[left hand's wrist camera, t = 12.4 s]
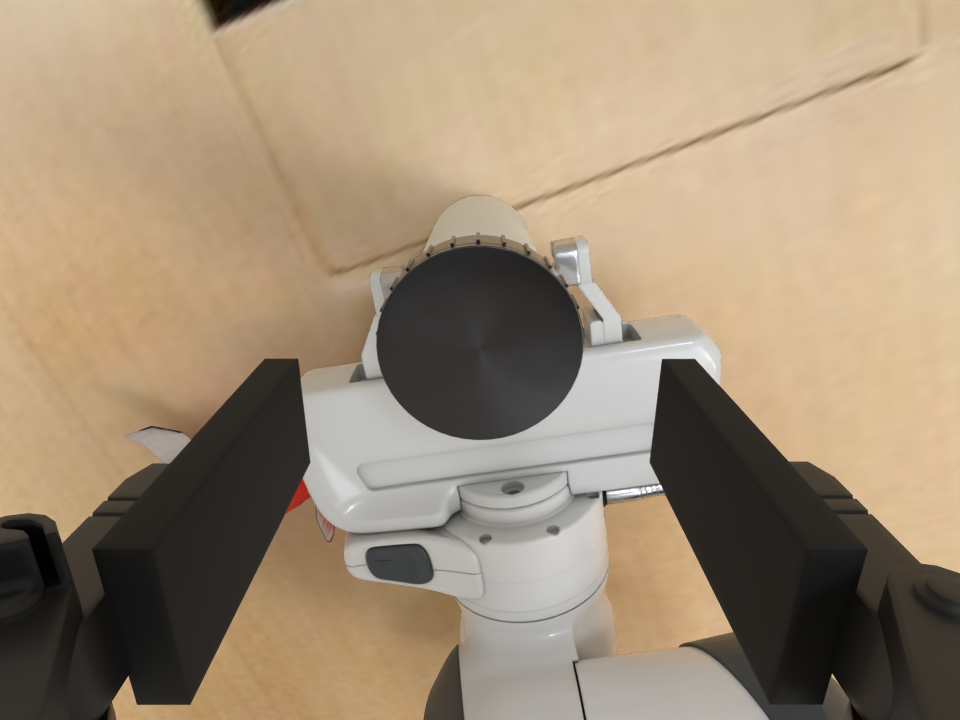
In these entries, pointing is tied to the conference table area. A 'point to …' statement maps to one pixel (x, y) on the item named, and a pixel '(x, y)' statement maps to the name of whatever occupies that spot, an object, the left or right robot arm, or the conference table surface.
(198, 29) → the conference table surface
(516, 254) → the lid
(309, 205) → the conference table surface
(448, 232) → the jar
